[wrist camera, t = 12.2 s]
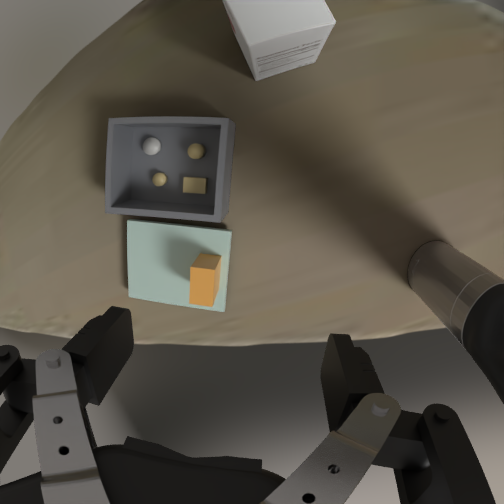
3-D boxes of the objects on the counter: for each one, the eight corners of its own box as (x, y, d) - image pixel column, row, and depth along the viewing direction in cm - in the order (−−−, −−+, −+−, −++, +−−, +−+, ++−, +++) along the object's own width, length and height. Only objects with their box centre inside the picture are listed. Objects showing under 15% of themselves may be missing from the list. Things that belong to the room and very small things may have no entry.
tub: (235, 124, 39) (228, 118, 33) (228, 211, 43) (220, 222, 36) (131, 122, 40) (108, 118, 33) (127, 204, 43) (105, 213, 37)
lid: (233, 228, 44) (225, 242, 37) (226, 305, 48) (218, 331, 40) (133, 217, 44) (109, 229, 37) (134, 291, 48) (114, 313, 41)
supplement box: (231, 30, 35) (212, -22, 21) (291, 11, 34) (299, -45, 20) (254, 83, 38) (245, 47, 23) (317, 63, 36) (338, 21, 22)
